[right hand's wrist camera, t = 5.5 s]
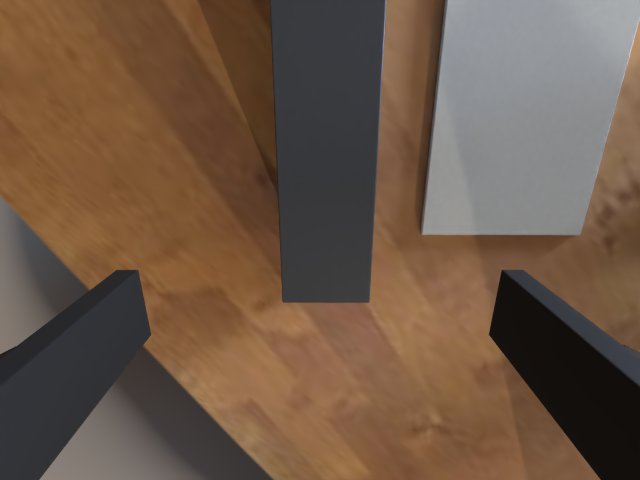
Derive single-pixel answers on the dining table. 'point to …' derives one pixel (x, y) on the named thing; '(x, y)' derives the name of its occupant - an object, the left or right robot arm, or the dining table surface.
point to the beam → (327, 144)
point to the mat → (523, 113)
